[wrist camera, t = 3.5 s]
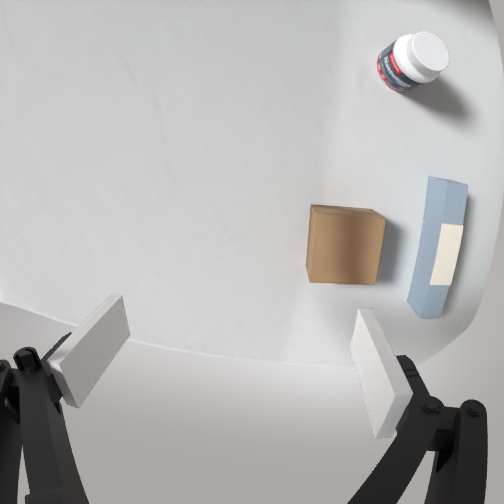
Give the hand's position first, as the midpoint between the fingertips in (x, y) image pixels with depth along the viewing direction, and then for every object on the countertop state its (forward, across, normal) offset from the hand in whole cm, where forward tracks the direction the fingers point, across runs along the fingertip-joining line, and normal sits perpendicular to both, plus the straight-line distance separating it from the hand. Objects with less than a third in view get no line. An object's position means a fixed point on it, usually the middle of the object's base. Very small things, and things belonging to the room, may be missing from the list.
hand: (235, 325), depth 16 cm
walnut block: (+19, +9, 0) cm, 21 cm away
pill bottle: (+19, +15, +20) cm, 31 cm away
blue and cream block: (+19, +21, 0) cm, 28 cm away
